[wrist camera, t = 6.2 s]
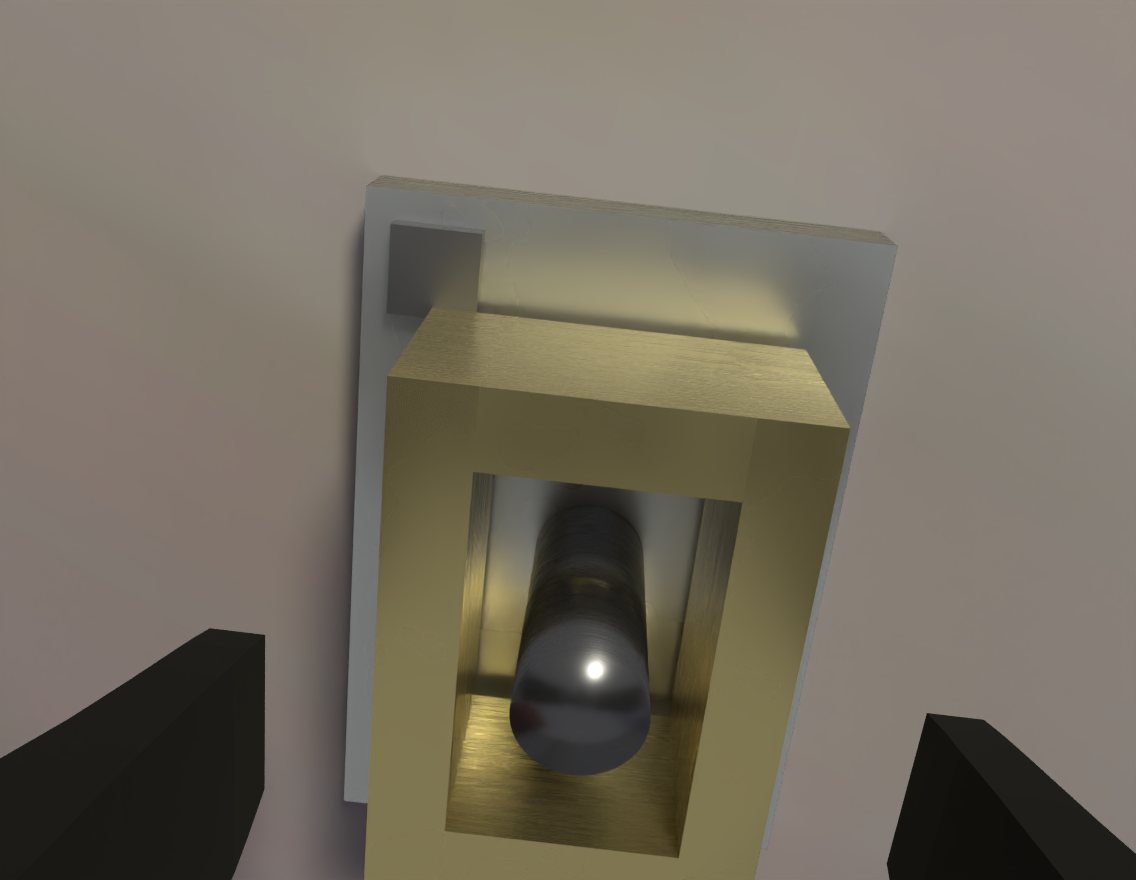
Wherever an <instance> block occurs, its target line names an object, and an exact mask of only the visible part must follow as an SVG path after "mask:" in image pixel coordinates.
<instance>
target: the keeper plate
mask: <svg viewBox="0 0 1136 880" xmlns="http://www.w3.org/2000/svg"><path fill="white" fill-rule="evenodd" d="M897 248H898V246H897V245H896V244H895V243H894V242H892V241H891V240H890V239H889V238H887V237H886V236H885V235H884V234H882V233H881V232H875V231H866V230H857V229H848V228H840V227H831V226H822V225H813V224H804V223H796V222H787V221H778V220H769V219H760V218H751V217H743V216H734V215H725V214H716V213H707V212H698V211H690V210H681V209H672V208H663V207H654V206H645V205H637V204H628V203H619V202H610V201H601V200H592V199H584V198H575V197H566V196H557V195H548V194H539V193H531V192H522V191H513V190H504V189H495V188H486V187H478V186H469V185H460V184H451V183H442V182H433V181H425V180H416V179H407V178H398V177H389V176H380V177H379V178H377V179H376V180H374V181H373V182H371V183H370V184H368V185H366V202H365V230H364V258H363V285H362V313H361V341H360V368H359V396H358V424H357V451H356V479H355V507H354V534H353V562H352V590H351V617H350V645H349V673H348V701H347V728H346V756H345V784H344V801H350V802H359V803H368V783H369V762H370V740H371V718H372V696H373V674H374V653H375V631H376V609H377V587H378V565H379V544H380V522H381V500H382V478H383V456H384V435H385V413H386V391H387V375H388V374H389V372H390V371H391V369H392V368H393V366H394V365H395V363H396V362H397V360H398V359H399V357H400V356H401V354H402V353H403V351H404V350H405V348H406V347H407V345H408V344H409V342H410V341H411V339H412V338H413V336H414V334H415V333H416V331H417V330H418V328H419V327H420V325H421V324H422V322H423V321H424V319H425V318H426V316H427V315H428V313H429V312H430V310H431V309H432V307H434V308H443V309H452V310H461V311H470V312H478V313H487V314H496V315H505V316H514V317H522V318H531V319H540V320H549V321H558V322H566V323H575V324H584V325H593V326H602V327H610V328H619V329H628V330H637V331H646V332H655V333H663V334H672V335H681V336H690V337H699V338H707V339H716V340H725V341H734V342H743V343H751V344H760V345H769V346H778V347H787V348H795V349H804V350H806V351H807V353H808V354H809V356H810V358H811V360H812V361H813V363H814V365H815V367H816V368H817V370H818V372H819V374H820V375H821V377H822V379H823V381H824V383H825V384H826V386H827V388H828V390H829V391H830V393H831V395H832V397H833V398H834V400H835V402H836V404H837V405H838V407H839V409H840V411H841V413H842V414H843V416H844V418H845V420H846V421H847V423H848V425H849V427H850V428H851V429H850V434H849V439H848V443H847V448H846V453H845V457H844V462H843V467H842V472H841V476H840V481H839V486H838V490H837V495H836V500H835V504H834V509H833V514H832V518H831V523H830V528H829V532H828V537H827V542H826V546H825V551H824V556H823V560H822V565H821V570H820V574H819V579H818V584H817V588H816V593H815V598H814V603H813V607H812V612H811V617H810V621H809V626H808V631H807V635H806V640H805V645H804V649H803V654H802V659H801V663H800V668H799V673H798V677H797V682H796V687H795V691H794V696H793V701H792V705H791V710H790V715H789V719H788V724H787V729H786V733H785V738H784V743H783V748H782V752H781V757H780V762H779V766H778V771H777V776H776V780H775V785H774V790H773V794H772V799H771V804H770V808H769V813H768V818H767V822H766V827H765V832H764V836H763V841H762V846H761V849H765V850H767V848H768V844H769V839H770V834H771V830H772V825H773V820H774V816H775V811H776V807H777V802H778V797H779V793H780V788H781V784H782V779H783V774H784V770H785V765H786V760H787V756H788V751H789V747H790V742H791V737H792V733H793V728H794V724H795V719H796V714H797V710H798V705H799V700H800V696H801V691H802V687H803V682H804V677H805V673H806V668H807V664H808V659H809V654H810V650H811V645H812V640H813V636H814V631H815V627H816V622H817V617H818V613H819V608H820V604H821V599H822V594H823V590H824V585H825V580H826V576H827V571H828V567H829V562H830V557H831V553H832V548H833V544H834V539H835V534H836V530H837V525H838V520H839V516H840V511H841V507H842V502H843V497H844V493H845V488H846V484H847V479H848V474H849V470H850V465H851V460H852V456H853V451H854V447H855V442H856V437H857V433H858V428H859V424H860V419H861V414H862V410H863V405H864V400H865V396H866V391H867V387H868V382H869V377H870V373H871V368H872V364H873V359H874V354H875V350H876V345H877V340H878V336H879V331H880V327H881V322H882V317H883V313H884V308H885V304H886V299H887V294H888V290H889V285H890V281H891V276H892V271H893V267H894V262H895V257H896V253H897ZM704 502H705V498H698V497H690V496H681V495H672V494H663V493H654V492H646V491H637V490H628V489H619V488H611V487H602V486H593V485H584V484H576V483H567V482H558V481H549V480H541V479H532V478H523V477H514V476H506V475H497V474H493V484H492V496H491V507H490V519H489V530H488V542H487V553H486V565H485V577H484V588H483V600H482V611H481V623H480V634H479V646H478V658H477V669H476V681H475V692H474V695H481V696H490V697H498V698H507V699H511V703H510V709H509V719H510V726H511V729H512V732H513V735H514V737H515V739H516V741H517V742H518V744H519V745H520V747H521V748H522V749H523V750H524V752H525V753H526V754H527V755H528V756H530V757H531V758H532V759H533V760H535V761H536V762H537V763H539V764H541V765H542V766H544V767H546V768H548V769H551V770H553V771H556V772H560V773H563V774H569V775H580V776H583V775H595V774H600V773H604V772H608V771H610V770H613V769H615V768H617V767H619V766H621V765H623V764H624V763H626V762H627V761H628V760H630V759H631V758H632V757H633V756H634V755H635V754H636V753H637V752H638V751H639V749H640V748H641V747H642V745H643V743H644V742H645V740H646V737H647V735H648V732H649V728H650V720H651V715H655V716H663V717H669V714H670V707H671V701H672V695H673V689H674V683H675V677H676V671H677V665H678V659H679V653H680V647H681V641H682V635H683V629H684V623H685V617H686V611H687V605H688V599H689V593H690V587H691V581H692V575H693V568H694V562H695V556H696V550H697V544H698V538H699V532H700V526H701V520H702V514H703V508H704Z"/></svg>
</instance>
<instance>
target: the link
mask: <svg viewBox="0 0 1136 880" xmlns="http://www.w3.org/2000/svg"><path fill="white" fill-rule="evenodd" d="M850 429H851V428H850V427H849V425H848V423H847V421H846V420H845V418H844V416H843V414H842V413H841V411H840V409H839V407H838V405H837V404H836V402H835V400H834V398H833V397H832V395H831V393H830V391H829V390H828V388H827V386H826V384H825V383H824V381H823V379H822V377H821V375H820V374H819V372H818V370H817V368H816V367H815V365H814V363H813V361H812V360H811V358H810V356H809V354H808V353H807V351H806V350H804V349H795V348H787V347H778V346H769V345H760V344H751V343H743V342H734V341H725V340H716V339H707V338H699V337H690V336H681V335H672V334H663V333H655V332H646V331H637V330H628V329H619V328H610V327H602V326H593V325H584V324H575V323H566V322H558V321H549V320H540V319H531V318H522V317H514V316H505V315H496V314H487V313H478V312H470V311H461V310H452V309H443V308H434V307H432V309H431V310H430V312H429V313H428V315H427V316H426V318H425V319H424V321H423V322H422V324H421V325H420V327H419V328H418V330H417V331H416V333H415V334H414V336H413V338H412V339H411V341H410V342H409V344H408V345H407V347H406V348H405V350H404V351H403V353H402V354H401V356H400V357H399V359H398V360H397V362H396V363H395V365H394V366H393V368H392V369H391V371H390V372H389V374H388V375H387V391H386V413H385V435H384V456H383V478H382V500H381V522H380V544H379V565H378V587H377V609H376V631H375V653H374V674H373V696H372V718H371V740H370V762H369V783H368V805H367V827H366V849H365V871H364V880H754V879H755V874H756V869H757V864H758V860H759V855H760V850H761V846H762V841H763V836H764V832H765V827H766V822H767V818H768V813H769V808H770V804H771V799H772V794H773V790H774V785H775V780H776V776H777V771H778V766H779V762H780V757H781V752H782V748H783V743H784V738H785V733H786V729H787V724H788V719H789V715H790V710H791V705H792V701H793V696H794V691H795V687H796V682H797V677H798V673H799V668H800V663H801V659H802V654H803V649H804V645H805V640H806V635H807V631H808V626H809V621H810V617H811V612H812V607H813V603H814V598H815V593H816V588H817V584H818V579H819V574H820V570H821V565H822V560H823V556H824V551H825V546H826V542H827V537H828V532H829V528H830V523H831V518H832V514H833V509H834V504H835V500H836V495H837V490H838V486H839V481H840V476H841V472H842V467H843V462H844V457H845V453H846V448H847V443H848V439H849V434H850ZM493 474H497V475H506V476H514V477H523V478H532V479H541V480H549V481H558V482H567V483H576V484H584V485H593V486H602V487H611V488H619V489H628V490H637V491H646V492H654V493H663V494H672V495H681V496H690V497H698V498H705V502H704V508H703V514H702V520H701V526H700V532H699V538H698V544H697V550H696V556H695V562H694V568H693V575H692V581H691V587H690V593H689V599H688V605H687V611H686V617H685V623H684V629H683V635H682V641H681V647H680V653H679V659H678V665H677V671H676V677H675V683H674V689H673V695H672V701H671V707H670V714H669V717H663V716H655V715H651V720H650V728H649V732H648V735H647V737H646V740H645V742H644V743H643V745H642V747H641V748H640V749H639V751H638V752H637V753H636V754H635V755H634V756H633V757H632V758H631V759H630V760H628V761H627V762H626V763H624V764H623V765H621V766H619V767H617V768H615V769H613V770H610V771H608V772H604V773H600V774H595V775H583V776H580V775H569V774H563V773H560V772H556V771H553V770H551V769H548V768H546V767H544V766H542V765H541V764H539V763H537V762H536V761H535V760H533V759H532V758H531V757H530V756H528V755H527V754H526V753H525V752H524V750H523V749H522V748H521V747H520V745H519V744H518V742H517V741H516V739H515V737H514V735H513V732H512V729H511V726H510V719H509V709H510V703H511V699H507V698H498V697H490V696H481V695H474V692H475V681H476V669H477V658H478V646H479V634H480V623H481V611H482V600H483V588H484V577H485V565H486V553H487V542H488V530H489V519H490V507H491V496H492V484H493Z"/></svg>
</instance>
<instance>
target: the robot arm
mask: <svg viewBox="0 0 1136 880" xmlns="http://www.w3.org/2000/svg"><path fill="white" fill-rule="evenodd" d="M264 762H265V635H261V634H253V633H244V632H236V631H227V630H219V629H211V628H210V629H208V630H206V631H204V632H203V633H201V634H199V635H198V636H196V637H194V638H193V639H191V640H190V641H188V642H187V643H185V644H183V645H182V646H180V647H179V648H177V649H176V650H174V651H173V652H171V653H170V654H168V655H167V656H165V657H164V658H162V659H161V660H159V661H158V662H156V663H155V664H153V665H152V666H150V667H148V668H147V669H145V670H144V671H142V672H141V673H139V674H138V675H136V676H135V677H133V678H132V679H130V680H129V681H127V682H126V683H124V684H123V685H121V686H119V687H118V688H116V689H115V690H113V691H112V692H110V693H108V694H107V695H105V696H104V697H102V698H101V699H99V700H97V701H96V702H94V703H93V704H91V705H90V706H88V707H87V708H85V709H83V710H82V711H80V712H79V713H77V714H76V715H74V716H72V717H71V718H69V719H68V720H66V721H64V722H63V723H61V724H59V725H57V726H56V727H54V728H52V729H50V730H49V731H47V732H45V733H44V734H42V735H40V736H38V737H37V738H35V739H33V740H31V741H30V742H28V743H26V744H24V745H23V746H21V747H19V748H18V749H16V750H14V751H12V752H11V753H9V754H7V755H5V756H4V757H2V758H0V880H231V879H232V877H233V875H234V873H235V870H236V867H237V865H238V862H239V859H240V857H241V854H242V851H243V848H244V846H245V843H246V840H247V838H248V835H249V832H250V829H251V826H252V823H253V820H254V818H255V815H256V812H257V809H258V806H259V803H260V800H261V797H262V794H263V791H264ZM887 867H888V873H889V879H890V880H1136V854H1135V853H1134V852H1133V851H1132V850H1131V849H1130V848H1128V847H1127V846H1126V845H1125V844H1124V843H1123V842H1122V841H1120V840H1119V839H1118V838H1117V837H1116V836H1115V835H1114V834H1112V833H1111V832H1110V831H1109V830H1108V829H1107V828H1106V827H1105V826H1103V825H1102V824H1101V823H1100V822H1099V821H1098V820H1097V819H1096V818H1094V817H1093V816H1092V815H1091V814H1090V813H1089V812H1088V811H1087V810H1086V809H1084V808H1083V807H1082V806H1081V805H1080V804H1079V803H1078V802H1077V801H1076V800H1074V799H1073V798H1072V797H1071V796H1070V795H1069V794H1068V793H1067V792H1066V791H1065V790H1063V789H1062V788H1061V787H1060V786H1059V785H1058V784H1057V783H1056V782H1055V781H1054V780H1052V779H1051V778H1050V777H1049V776H1048V775H1047V774H1046V773H1045V772H1044V771H1043V770H1041V769H1040V768H1039V767H1038V766H1037V765H1036V764H1035V763H1034V762H1033V761H1031V760H1030V759H1029V758H1028V757H1027V756H1026V755H1025V754H1024V753H1023V752H1021V751H1020V750H1019V749H1018V748H1017V747H1016V746H1015V745H1014V744H1012V743H1011V742H1010V741H1009V740H1008V739H1007V738H1005V737H1004V736H1003V735H1002V734H1001V733H1000V732H998V731H997V730H996V729H995V728H993V727H992V726H991V725H990V724H988V723H987V722H986V721H984V720H981V719H972V718H964V717H955V716H947V715H938V714H930V713H927V715H926V719H925V723H924V726H923V730H922V734H921V738H920V741H919V745H918V749H917V753H916V756H915V760H914V764H913V767H912V771H911V775H910V779H909V782H908V786H907V790H906V794H905V797H904V801H903V805H902V809H901V812H900V816H899V820H898V824H897V827H896V831H895V835H894V838H893V842H892V846H891V850H890V853H889V857H888V861H887Z"/></svg>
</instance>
